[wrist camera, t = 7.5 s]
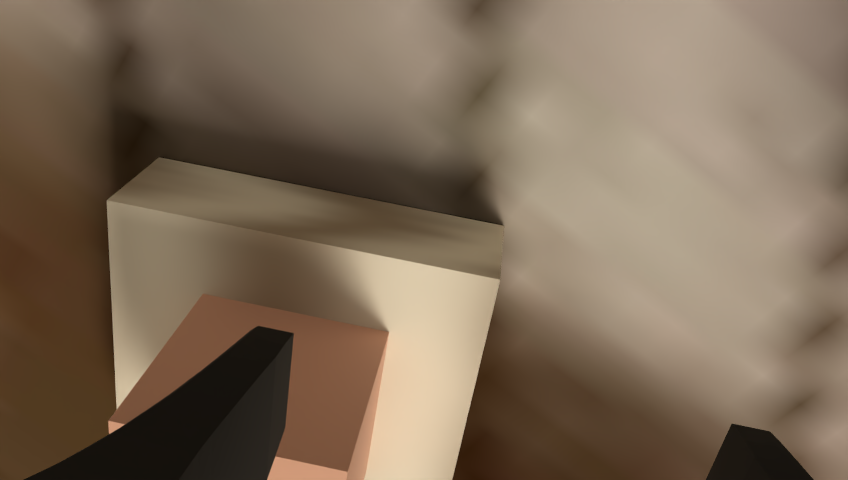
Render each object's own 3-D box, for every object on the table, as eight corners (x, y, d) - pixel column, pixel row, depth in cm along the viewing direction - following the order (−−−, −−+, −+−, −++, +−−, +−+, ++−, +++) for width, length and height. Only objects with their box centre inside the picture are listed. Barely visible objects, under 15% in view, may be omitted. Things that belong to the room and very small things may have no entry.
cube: (389, 332, 20) (348, 471, 15) (366, 471, 22) (324, 627, 18) (202, 293, 20) (108, 420, 15) (200, 435, 22) (117, 581, 18)
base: (504, 225, 21) (500, 280, 18) (444, 482, 26) (434, 554, 23) (159, 157, 22) (106, 200, 19) (161, 421, 26) (120, 486, 24)
